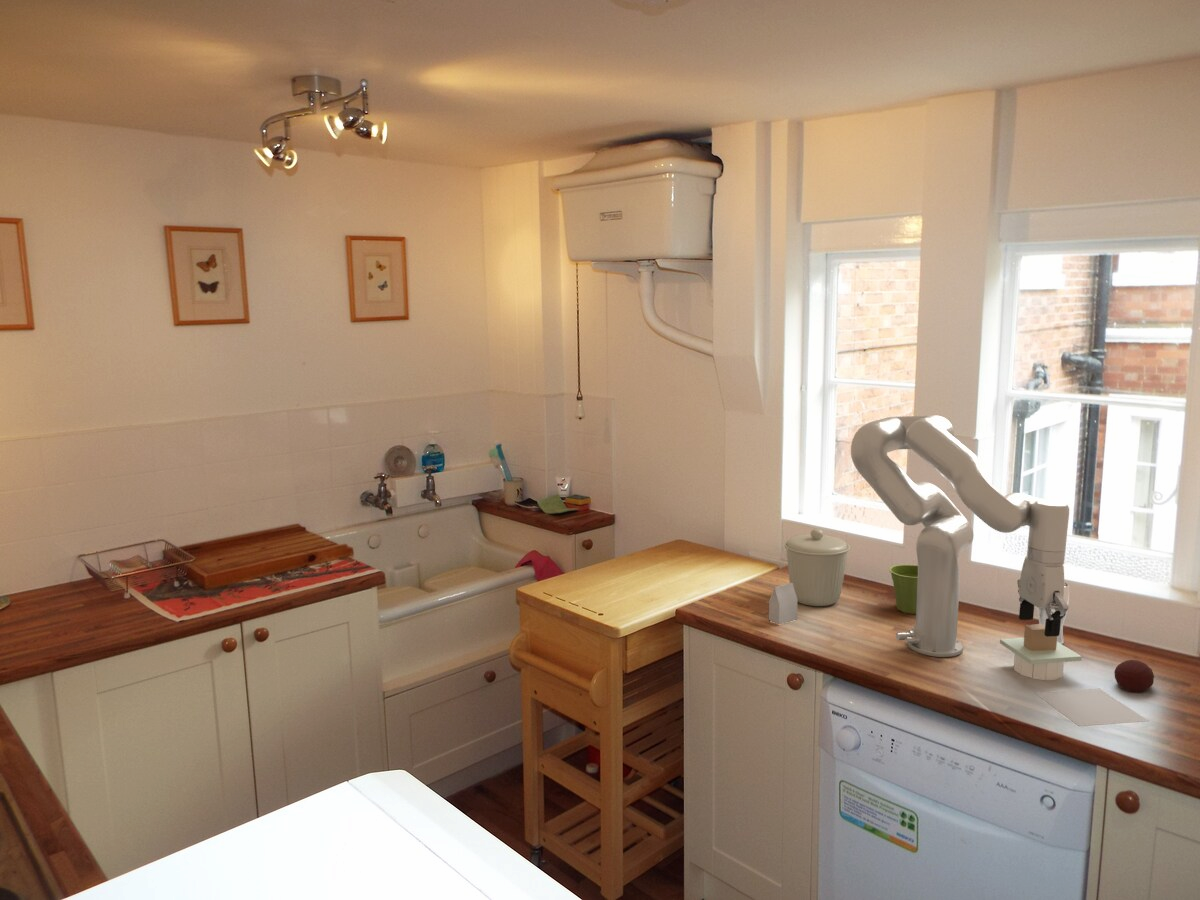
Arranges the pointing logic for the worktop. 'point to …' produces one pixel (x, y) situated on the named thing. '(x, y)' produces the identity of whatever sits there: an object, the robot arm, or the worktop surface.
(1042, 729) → the worktop surface
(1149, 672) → the potato
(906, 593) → the plant pot
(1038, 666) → the bowl
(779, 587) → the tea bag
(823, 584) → the canister
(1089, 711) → the mat
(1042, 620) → the beer glass
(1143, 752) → the worktop surface
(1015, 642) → the board
